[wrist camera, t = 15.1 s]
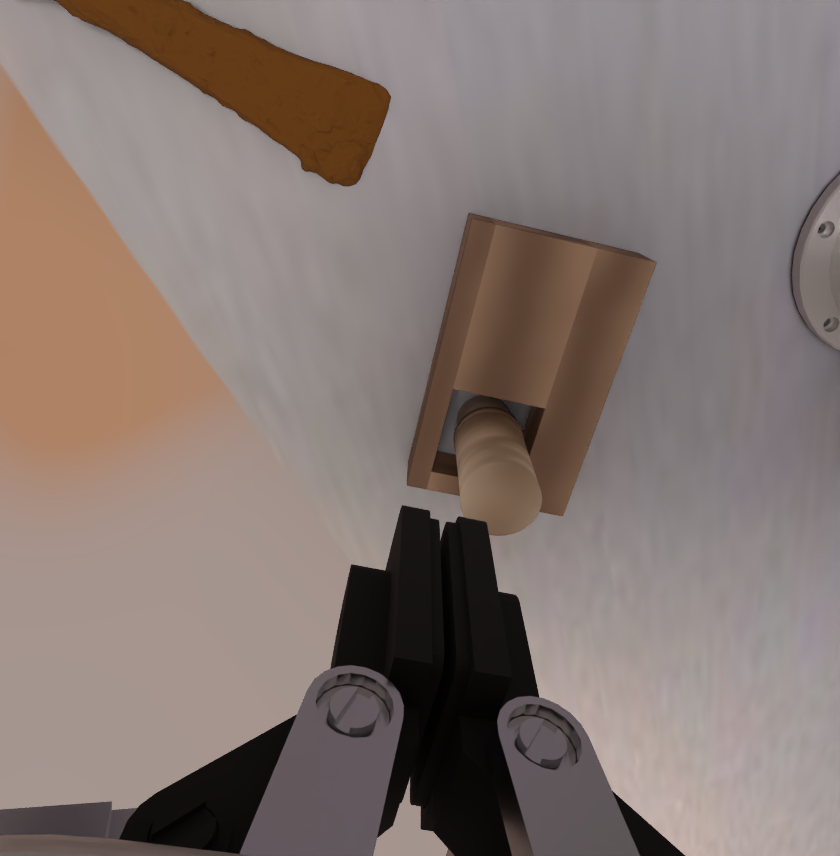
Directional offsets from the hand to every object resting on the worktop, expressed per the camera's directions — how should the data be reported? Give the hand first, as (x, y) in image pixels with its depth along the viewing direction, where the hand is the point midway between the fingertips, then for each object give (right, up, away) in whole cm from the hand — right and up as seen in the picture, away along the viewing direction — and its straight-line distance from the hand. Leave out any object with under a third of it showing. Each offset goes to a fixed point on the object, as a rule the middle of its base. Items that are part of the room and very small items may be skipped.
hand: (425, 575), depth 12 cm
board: (+6, +7, +27) cm, 28 cm away
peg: (+4, +3, +28) cm, 29 cm away
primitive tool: (-11, +22, +21) cm, 32 cm away
